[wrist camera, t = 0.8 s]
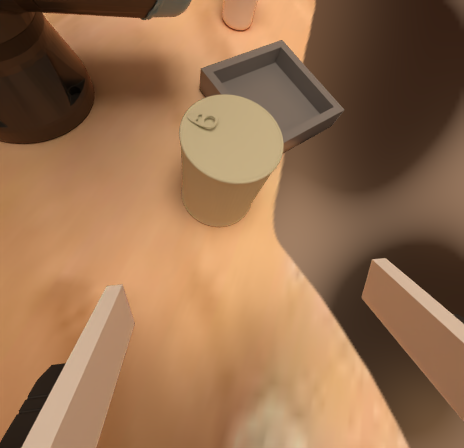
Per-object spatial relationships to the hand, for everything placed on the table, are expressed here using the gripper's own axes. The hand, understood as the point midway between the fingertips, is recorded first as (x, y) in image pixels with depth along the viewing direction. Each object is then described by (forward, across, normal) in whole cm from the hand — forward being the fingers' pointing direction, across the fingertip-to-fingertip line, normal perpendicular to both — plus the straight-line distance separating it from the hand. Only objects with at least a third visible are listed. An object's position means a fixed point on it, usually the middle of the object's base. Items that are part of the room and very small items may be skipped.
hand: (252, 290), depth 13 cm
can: (+20, -1, -2) cm, 20 cm away
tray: (+31, +8, +8) cm, 33 cm away
